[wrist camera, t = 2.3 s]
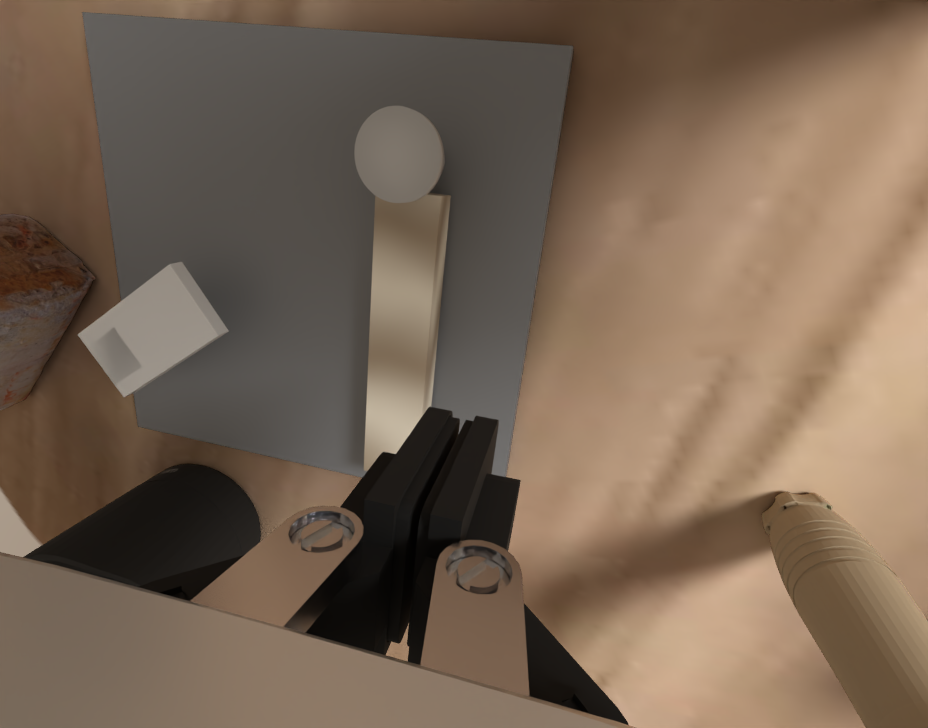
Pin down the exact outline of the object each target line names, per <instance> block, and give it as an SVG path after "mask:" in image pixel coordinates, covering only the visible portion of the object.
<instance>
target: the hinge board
mask: <svg viewBox="0 0 928 728" xmlns="http://www.w3.org/2000/svg"><path fill="white" fill-rule="evenodd" d="M82 14H83V21H84V29H85V36H86V43H87V51H88V58H89V66H90V73H91V81H92V88H93V96H94V103H95V110H96V118H97V125H98V133H99V140H100V148H101V155H102V163H103V170H104V177H105V185H106V192H107V200H108V207H109V215H110V222H111V230H112V237H113V244H114V252H115V259H116V267H117V274H118V282H119V289H120V296H121V302H119V303H118V304H117V305H116V306H114V307H113V308H112V309H110V310H109V311H108V312H106V313H105V314H104V315H102V316H101V317H100V318H99V319H97V320H96V321H95V322H93V323H92V324H91V325H89V326H88V327H87V328H85V329H84V330H83V331H82V332H80V333H79V334H78V336H79V337H80V339H81V340H82V341H83V343H84V344H85V346H86V347H87V348H88V350H89V351H90V352H91V354H92V355H93V356H94V358H95V359H96V360H97V362H98V363H99V364H100V366H101V367H102V369H103V370H104V371H105V373H106V374H107V375H108V377H109V378H110V379H111V381H112V382H113V383H114V385H115V386H116V387H117V389H118V390H119V391H120V393H121V394H122V396H123V397H126V396H128V395H130V394H133V393H134V401H135V408H136V416H137V423H138V427H142V428H146V429H151V430H155V431H160V432H164V433H168V434H173V435H177V436H182V437H186V438H190V439H195V440H199V441H204V442H208V443H212V444H217V445H221V446H226V447H230V448H234V449H239V450H243V451H248V452H252V453H257V454H261V455H265V456H270V457H274V458H279V459H283V460H287V461H292V462H296V463H301V464H305V465H309V466H314V467H318V468H323V469H327V470H331V471H336V472H340V473H345V474H349V475H354V476H358V477H362V478H363V476H364V475H365V474H366V472H367V471H365V470H364V450H365V426H366V403H367V380H368V356H369V333H370V310H371V286H372V263H373V240H374V216H375V195H376V196H377V197H378V198H380V199H382V200H385V201H388V202H392V203H407V202H413V201H416V200H419V199H421V198H422V197H424V196H426V195H427V194H428V193H435V194H443V195H451V199H450V210H449V221H448V232H447V242H446V253H445V264H444V275H443V286H442V296H441V307H440V318H439V329H438V340H437V350H436V361H435V372H434V383H433V394H432V404H431V407H434V408H440V409H445V410H450V411H452V413H453V417H454V418H459V419H460V426H459V433H460V431H461V428H462V426H463V424H464V422H465V421H466V420H470V421H473V420H474V418H475V416H481V417H486V418H491V419H497V420H499V426H498V433H497V440H496V447H495V453H494V460H493V467H492V474H493V475H498V476H503V477H506V474H507V468H508V462H509V455H510V449H511V443H512V437H513V430H514V424H515V418H516V411H517V405H518V399H519V392H520V386H521V380H522V374H523V367H524V361H525V355H526V348H527V342H528V336H529V329H530V323H531V317H532V310H533V304H534V298H535V292H536V285H537V279H538V273H539V266H540V260H541V254H542V247H543V241H544V235H545V228H546V222H547V216H548V210H549V203H550V197H551V191H552V184H553V178H554V172H555V165H556V159H557V153H558V147H559V140H560V134H561V128H562V121H563V115H564V109H565V102H566V96H567V90H568V83H569V77H570V71H571V65H572V58H573V52H574V51H573V46H568V45H553V44H539V43H524V42H509V41H495V40H480V39H466V38H451V37H437V36H422V35H407V34H393V33H378V32H364V31H349V30H335V29H320V28H305V27H291V26H276V25H262V24H247V23H233V22H218V21H204V20H189V19H174V18H160V17H145V16H131V15H116V14H102V13H87V12H82ZM458 435H459V434H458Z"/></svg>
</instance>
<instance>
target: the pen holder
mask: <svg viewBox="0 0 928 728" xmlns="http://www.w3.org/2000/svg"><path fill="white" fill-rule="evenodd" d="M260 537H261V531H260V522H259V517H258V514H257V512H256V509H255V507H254V505H253V503H252V502H251V500H250V498H249V497H248V496H247V494H246V493H245V492H244V491H243V490H242V489H241V487H240V486H239V485H237V484H236V483H235V482H234V481H233V480H232V479H230V478H229V477H227V476H226V475H224V474H222V473H221V472H219V471H216V470H214V469H212V468H209V467H206V466H201V465H193V464H183V465H177V466H173V467H171V468H168V469H166V470H164V471H162V472H161V473H159V474H157V475H156V476H154V477H152V478H151V479H149V480H147V481H146V482H144V483H142V484H141V485H139V486H137V487H135V488H134V489H132V490H131V491H129V492H127V493H126V494H124V495H122V496H121V497H119V498H118V499H116V500H114V501H113V502H111V503H110V504H108V505H106V506H105V507H103V508H102V509H100V510H98V511H97V512H95V513H93V514H92V515H90V516H89V517H87V518H85V519H84V520H82V521H81V522H79V523H77V524H76V525H74V526H73V527H71V528H69V529H68V530H66V531H64V532H63V533H61V534H60V535H58V536H56V537H55V538H53V539H52V540H50V541H48V542H47V543H45V544H44V545H42V546H40V547H39V548H37V549H35V550H34V551H32V552H31V553H29V554H28V555H26V556H25V557H23V558H27V559H32V560H36V561H40V562H45V563H49V564H53V565H58V566H61V567H65V568H69V569H72V570H76V571H80V572H84V573H87V574H91V575H95V576H98V577H102V578H106V579H110V580H113V581H117V582H121V583H124V584H128V585H132V586H135V587H139V586H141V585H144V584H147V583H149V582H152V581H155V580H158V579H162V578H165V577H169V576H172V575H176V574H179V573H183V572H186V571H190V570H193V569H197V568H200V567H204V566H207V565H211V564H214V563H218V562H221V561H225V560H228V559H232V558H236V557H239V556H243V555H245V554H246V553H248V552H249V551H250V550H251V549H252V548H254V547H255V546H256V545H257V544H258V543H259V542H260Z"/></svg>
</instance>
